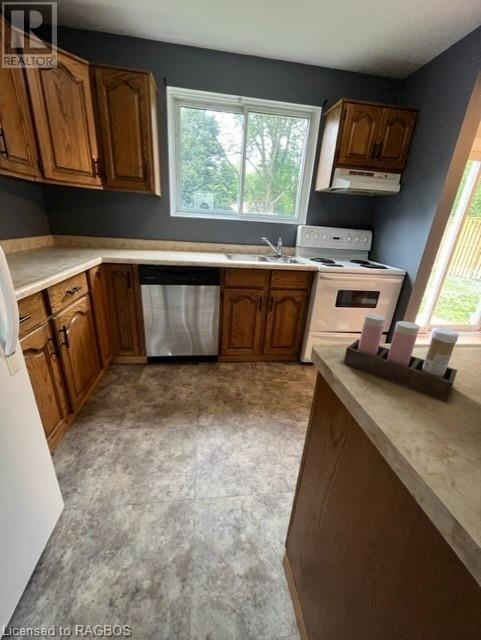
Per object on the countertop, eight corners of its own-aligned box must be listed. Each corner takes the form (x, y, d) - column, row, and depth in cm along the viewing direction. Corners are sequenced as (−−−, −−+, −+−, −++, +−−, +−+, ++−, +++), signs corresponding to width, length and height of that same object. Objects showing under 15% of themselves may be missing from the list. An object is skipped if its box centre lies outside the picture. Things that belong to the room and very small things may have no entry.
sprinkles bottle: (416, 376, 67) (432, 325, 62) (438, 380, 65) (455, 329, 61) (419, 385, 63) (436, 332, 58) (443, 390, 61) (462, 336, 57)
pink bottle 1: (377, 361, 74) (388, 316, 69) (371, 368, 70) (382, 321, 66) (359, 355, 77) (368, 312, 72) (352, 361, 73) (362, 316, 69)
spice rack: (451, 386, 65) (457, 369, 63) (446, 401, 59) (453, 383, 57) (355, 353, 79) (358, 339, 78) (343, 363, 73) (346, 347, 72)
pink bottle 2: (407, 372, 69) (421, 324, 65) (402, 379, 66) (417, 330, 61) (387, 365, 72) (399, 319, 68) (381, 371, 69) (394, 324, 64)
